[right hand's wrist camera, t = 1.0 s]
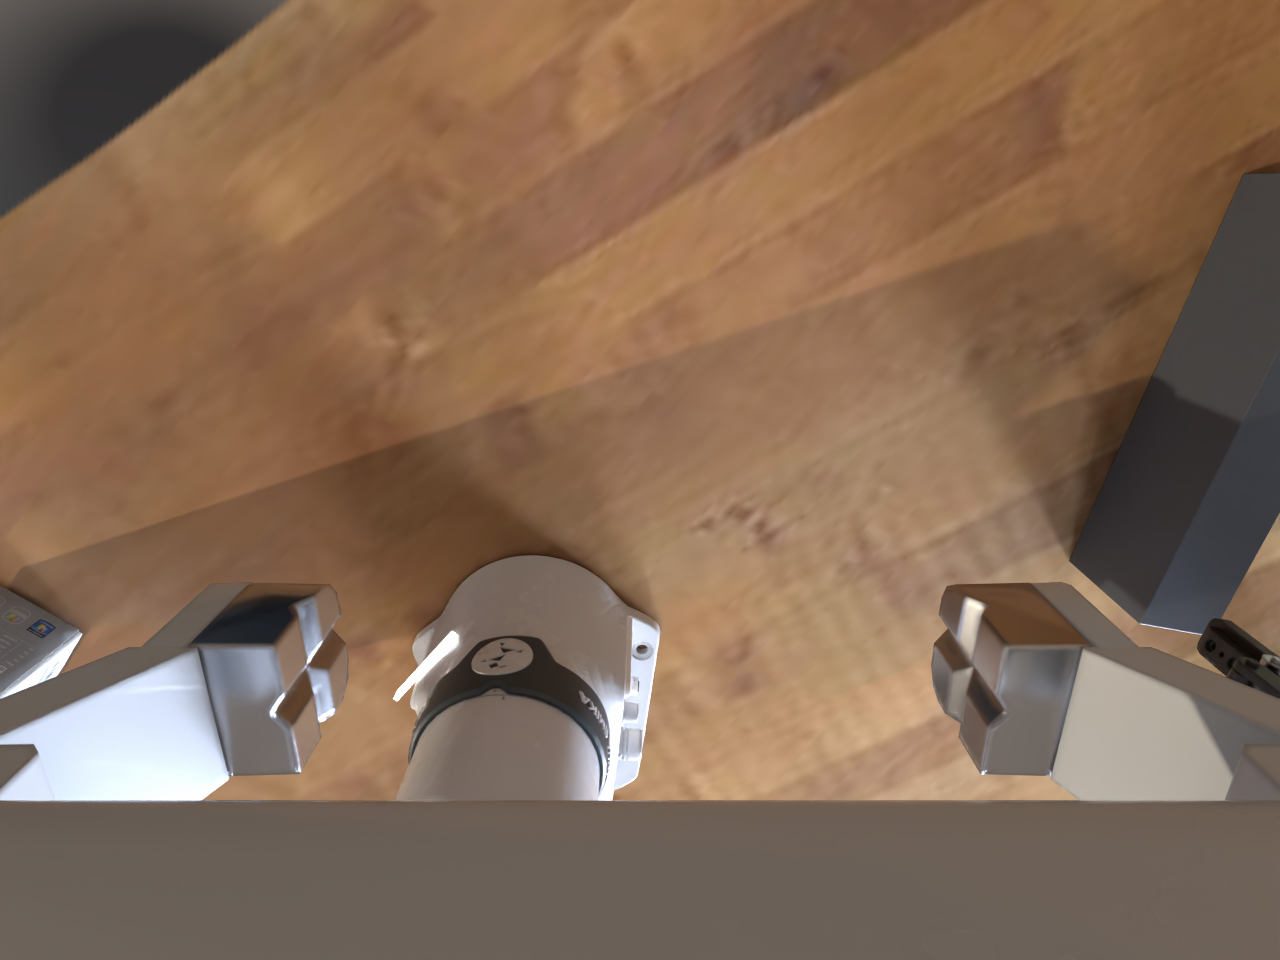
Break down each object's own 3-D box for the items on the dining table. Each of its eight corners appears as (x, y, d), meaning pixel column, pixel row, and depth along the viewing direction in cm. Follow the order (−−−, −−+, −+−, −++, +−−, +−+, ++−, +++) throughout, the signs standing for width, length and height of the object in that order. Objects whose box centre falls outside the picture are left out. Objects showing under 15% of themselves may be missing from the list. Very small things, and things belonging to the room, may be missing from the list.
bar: (1243, 173, 46) (1369, 172, 38) (1317, 189, 47) (1457, 191, 39) (1068, 561, 56) (1139, 624, 48) (1130, 572, 56) (1211, 637, 48)
